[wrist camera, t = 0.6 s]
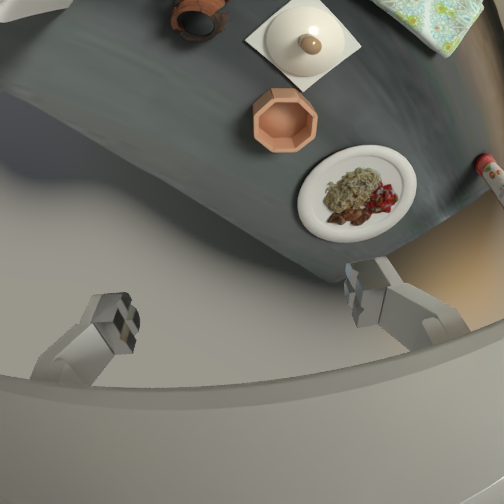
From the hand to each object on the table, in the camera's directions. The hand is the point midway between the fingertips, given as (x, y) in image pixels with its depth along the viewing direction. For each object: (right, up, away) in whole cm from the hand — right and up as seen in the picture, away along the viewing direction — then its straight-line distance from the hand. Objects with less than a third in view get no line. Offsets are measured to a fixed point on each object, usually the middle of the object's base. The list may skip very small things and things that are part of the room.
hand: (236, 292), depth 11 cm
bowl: (+6, +27, +41) cm, 49 cm away
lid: (+9, +36, +29) cm, 47 cm away
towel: (+30, +47, +19) cm, 59 cm away
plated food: (+26, +15, +57) cm, 64 cm away
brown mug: (-8, +40, +24) cm, 47 cm away
